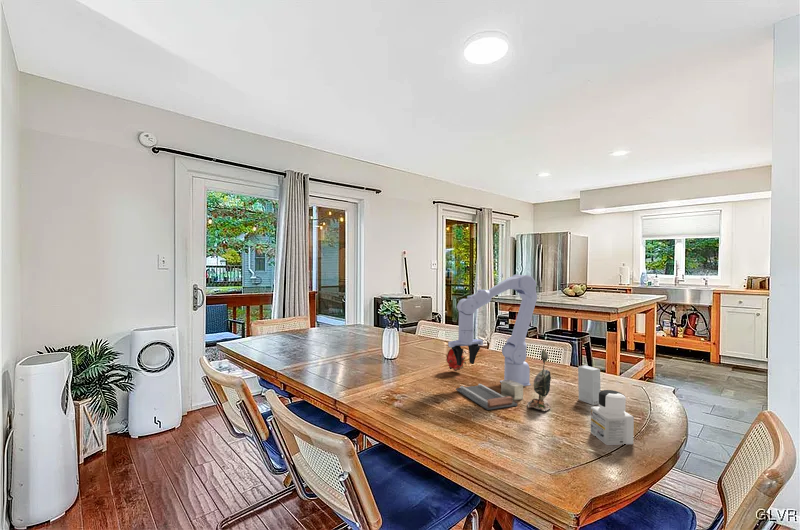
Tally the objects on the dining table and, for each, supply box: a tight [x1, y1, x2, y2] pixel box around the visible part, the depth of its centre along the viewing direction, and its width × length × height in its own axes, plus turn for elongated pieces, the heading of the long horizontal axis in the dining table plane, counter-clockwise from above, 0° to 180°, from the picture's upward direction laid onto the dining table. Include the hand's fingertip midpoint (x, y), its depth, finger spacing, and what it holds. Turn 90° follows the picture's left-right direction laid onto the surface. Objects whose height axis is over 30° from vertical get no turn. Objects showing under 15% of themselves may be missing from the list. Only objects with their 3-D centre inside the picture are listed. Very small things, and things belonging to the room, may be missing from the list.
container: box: [590, 389, 635, 446], centre depth 108 cm, size 8×8×13 cm
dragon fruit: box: [445, 348, 467, 372], centre depth 172 cm, size 8×8×12 cm
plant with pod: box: [526, 349, 552, 412], centre depth 131 cm, size 8×11×20 cm
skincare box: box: [577, 364, 602, 406], centre depth 136 cm, size 6×4×12 cm
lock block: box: [500, 380, 524, 402], centre depth 141 cm, size 4×7×5 cm, turn 27°
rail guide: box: [455, 383, 519, 411], centre depth 139 cm, size 12×21×3 cm, turn 21°
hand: (465, 364), depth 152 cm, fingers open, 5 cm apart
